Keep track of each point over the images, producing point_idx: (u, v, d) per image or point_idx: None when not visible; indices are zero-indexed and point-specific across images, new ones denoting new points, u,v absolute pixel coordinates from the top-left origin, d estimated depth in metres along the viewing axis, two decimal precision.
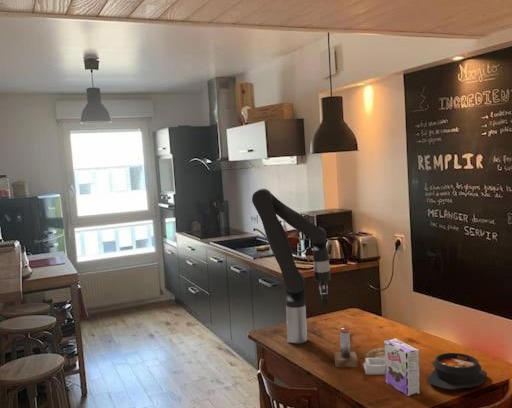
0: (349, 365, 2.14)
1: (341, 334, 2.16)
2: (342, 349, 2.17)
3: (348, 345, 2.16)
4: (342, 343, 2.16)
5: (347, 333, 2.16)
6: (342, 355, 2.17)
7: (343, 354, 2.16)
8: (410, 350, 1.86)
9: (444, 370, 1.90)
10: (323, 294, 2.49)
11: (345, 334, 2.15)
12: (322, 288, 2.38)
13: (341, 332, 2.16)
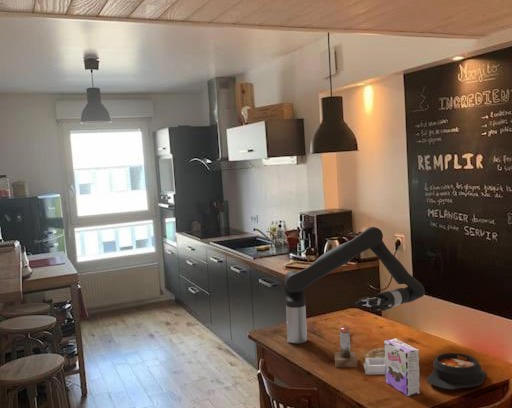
0: (349, 365, 2.14)
1: (341, 334, 2.16)
2: (342, 349, 2.17)
3: (348, 345, 2.16)
4: (342, 343, 2.16)
5: (347, 333, 2.16)
6: (342, 355, 2.17)
7: (343, 354, 2.16)
8: (410, 350, 1.86)
9: (444, 370, 1.90)
10: (362, 303, 2.28)
11: (345, 334, 2.15)
12: (389, 304, 2.22)
13: (341, 332, 2.16)
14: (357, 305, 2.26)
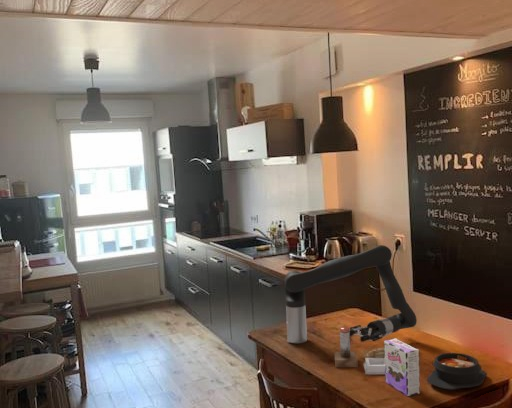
0: (349, 365, 2.14)
1: (341, 334, 2.16)
2: (342, 349, 2.17)
3: (348, 345, 2.16)
4: (342, 343, 2.16)
5: (347, 333, 2.16)
6: (342, 355, 2.17)
7: (343, 354, 2.16)
8: (410, 350, 1.86)
9: (444, 370, 1.90)
10: (353, 332, 2.26)
11: (345, 334, 2.15)
12: (380, 334, 2.20)
13: (341, 332, 2.16)
14: None
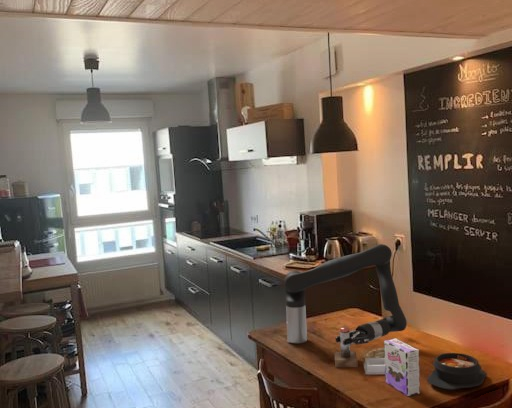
0: (349, 365, 2.14)
1: (341, 334, 2.16)
2: (342, 349, 2.17)
3: (348, 345, 2.16)
4: (342, 343, 2.16)
5: (347, 333, 2.16)
6: (342, 355, 2.17)
7: (343, 354, 2.16)
8: (410, 350, 1.86)
9: (444, 370, 1.90)
10: None
11: (344, 334, 2.15)
12: (365, 338, 2.15)
13: (341, 332, 2.16)
14: (337, 340, 2.18)
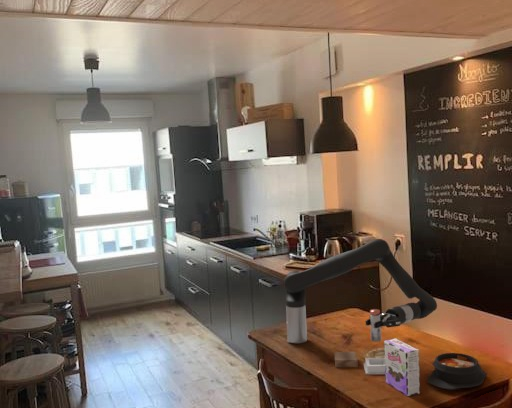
0: (349, 365, 2.14)
1: (372, 317, 2.07)
2: (373, 332, 2.08)
3: (379, 328, 2.07)
4: (373, 326, 2.07)
5: (378, 316, 2.07)
6: (373, 339, 2.08)
7: (374, 337, 2.07)
8: (410, 350, 1.86)
9: (444, 370, 1.90)
10: None
11: (375, 317, 2.06)
12: (397, 321, 2.06)
13: (372, 315, 2.07)
14: (367, 323, 2.09)
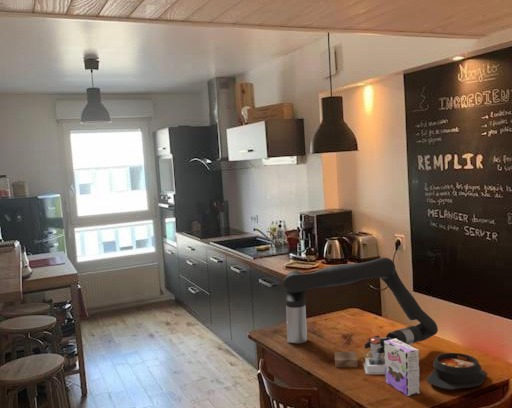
0: (349, 365, 2.14)
1: (372, 345, 2.08)
2: (373, 361, 2.08)
3: (379, 357, 2.08)
4: (373, 355, 2.08)
5: (379, 345, 2.07)
6: None
7: None
8: (410, 350, 1.86)
9: (444, 370, 1.90)
10: None
11: (376, 345, 2.07)
12: None
13: (372, 343, 2.08)
14: (367, 346, 2.11)
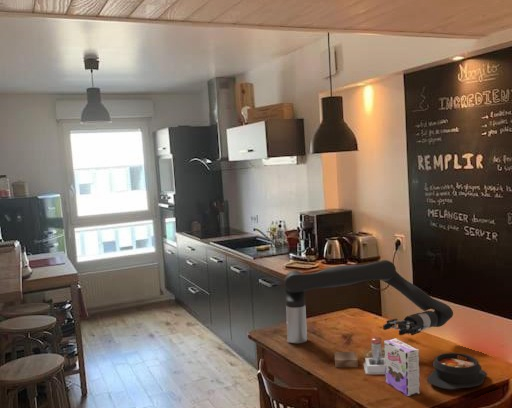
0: (349, 365, 2.14)
1: (373, 345, 2.08)
2: (374, 361, 2.09)
3: (380, 357, 2.08)
4: (374, 354, 2.08)
5: (380, 345, 2.08)
6: None
7: None
8: (410, 350, 1.86)
9: (444, 370, 1.90)
10: (390, 325, 2.21)
11: (377, 345, 2.07)
12: (419, 328, 2.15)
13: (373, 343, 2.08)
14: (385, 328, 2.20)
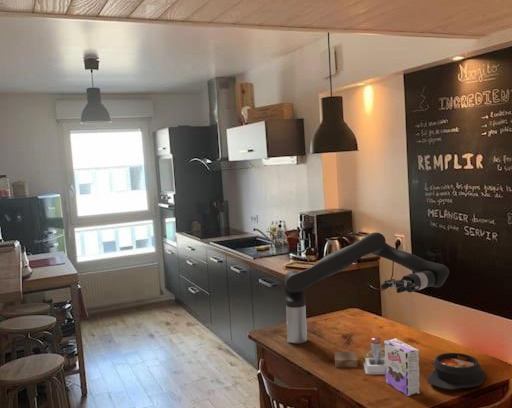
0: (349, 365, 2.14)
1: (372, 345, 2.08)
2: (374, 360, 2.09)
3: (380, 356, 2.08)
4: (374, 354, 2.08)
5: (379, 344, 2.08)
6: None
7: None
8: (410, 350, 1.86)
9: (444, 370, 1.90)
10: (387, 285, 2.24)
11: (376, 345, 2.08)
12: (416, 286, 2.18)
13: (372, 343, 2.08)
14: (383, 287, 2.22)
